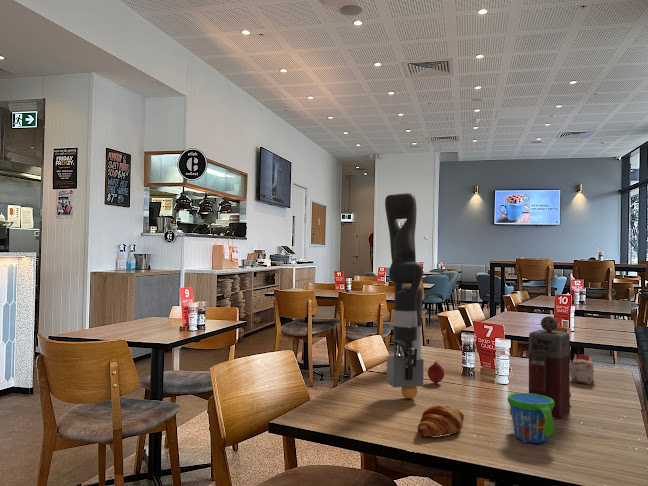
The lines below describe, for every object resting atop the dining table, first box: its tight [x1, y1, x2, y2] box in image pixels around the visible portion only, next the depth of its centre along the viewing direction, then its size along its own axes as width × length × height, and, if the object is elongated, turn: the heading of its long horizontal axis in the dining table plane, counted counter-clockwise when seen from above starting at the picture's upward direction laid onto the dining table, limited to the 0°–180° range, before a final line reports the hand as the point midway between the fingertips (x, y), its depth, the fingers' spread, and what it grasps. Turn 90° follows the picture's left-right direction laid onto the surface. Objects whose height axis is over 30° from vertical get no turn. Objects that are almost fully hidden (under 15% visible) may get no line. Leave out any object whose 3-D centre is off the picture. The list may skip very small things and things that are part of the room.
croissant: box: [417, 404, 465, 437], centre depth 131 cm, size 21×10×8 cm, turn 138°
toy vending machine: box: [528, 315, 571, 420], centre depth 146 cm, size 9×11×28 cm
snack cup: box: [507, 392, 555, 444], centre depth 125 cm, size 16×10×10 cm
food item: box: [570, 353, 595, 385], centre depth 187 cm, size 14×8×10 cm, turn 153°
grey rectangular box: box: [386, 355, 424, 388], centre depth 159 cm, size 6×10×8 cm, turn 102°
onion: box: [427, 360, 445, 384], centre depth 179 cm, size 6×6×8 cm
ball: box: [400, 387, 418, 399], centre depth 159 cm, size 5×5×5 cm
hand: (404, 377), depth 159 cm, fingers closed on grey rectangular box, 6 cm apart
